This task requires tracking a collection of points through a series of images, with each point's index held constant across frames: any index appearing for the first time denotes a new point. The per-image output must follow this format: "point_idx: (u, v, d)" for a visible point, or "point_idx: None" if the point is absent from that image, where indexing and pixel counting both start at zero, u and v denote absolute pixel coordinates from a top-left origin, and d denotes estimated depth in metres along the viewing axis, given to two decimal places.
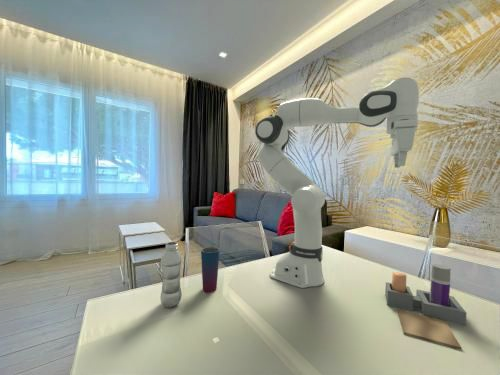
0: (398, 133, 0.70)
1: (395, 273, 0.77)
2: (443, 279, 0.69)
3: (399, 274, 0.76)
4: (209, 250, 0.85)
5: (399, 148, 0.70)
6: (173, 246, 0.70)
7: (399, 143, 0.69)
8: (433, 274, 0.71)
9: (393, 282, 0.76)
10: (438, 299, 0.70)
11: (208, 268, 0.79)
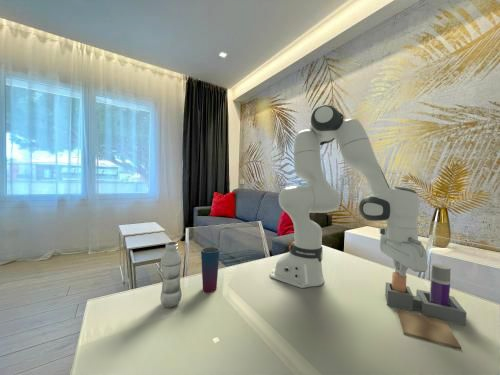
0: None
1: (395, 273, 0.77)
2: (443, 279, 0.69)
3: (398, 275, 0.76)
4: (209, 250, 0.85)
5: None
6: (173, 246, 0.70)
7: None
8: (433, 274, 0.71)
9: (393, 282, 0.76)
10: (438, 299, 0.70)
11: (208, 268, 0.79)
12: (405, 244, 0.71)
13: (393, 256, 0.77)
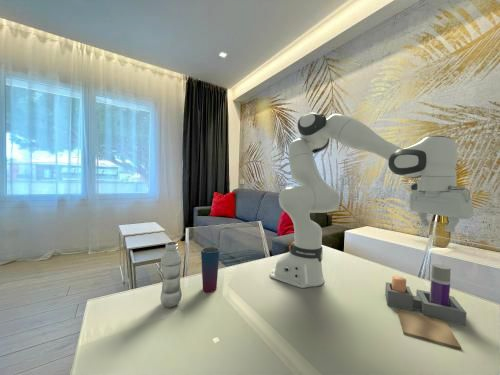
0: None
1: (395, 277, 0.77)
2: (443, 279, 0.69)
3: (398, 279, 0.76)
4: (209, 250, 0.85)
5: None
6: (173, 246, 0.70)
7: None
8: (433, 274, 0.71)
9: (393, 286, 0.76)
10: (438, 299, 0.70)
11: (208, 268, 0.79)
12: (445, 193, 0.67)
13: (428, 210, 0.73)
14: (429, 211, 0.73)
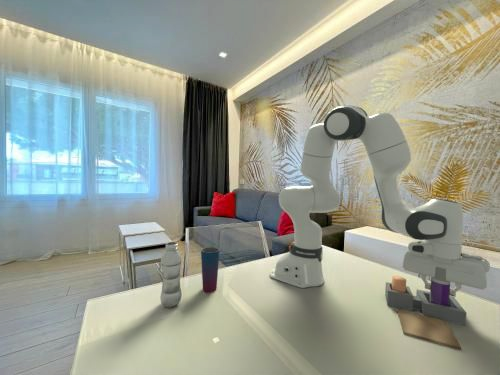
0: None
1: (395, 277, 0.77)
2: (443, 279, 0.69)
3: (398, 279, 0.76)
4: (209, 250, 0.85)
5: None
6: (173, 246, 0.70)
7: None
8: None
9: (393, 286, 0.76)
10: (438, 299, 0.70)
11: (208, 268, 0.79)
12: (462, 261, 0.66)
13: None
14: None
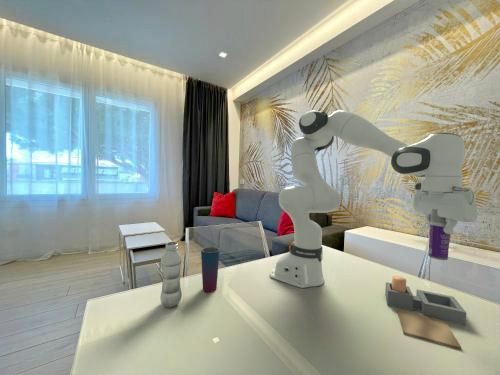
0: None
1: (395, 277, 0.77)
2: (434, 220, 0.68)
3: (398, 279, 0.76)
4: (209, 250, 0.85)
5: None
6: (173, 246, 0.70)
7: None
8: None
9: (393, 286, 0.76)
10: (430, 241, 0.69)
11: (208, 268, 0.79)
12: (449, 194, 0.63)
13: (431, 211, 0.69)
14: None
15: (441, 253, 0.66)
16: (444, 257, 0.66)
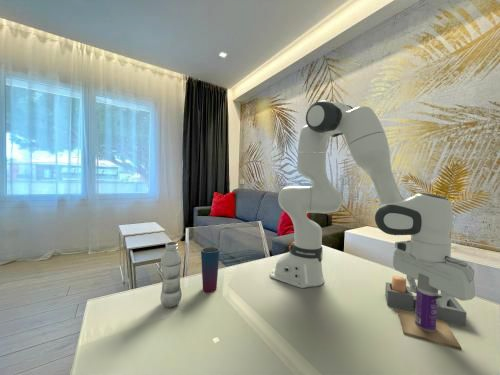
0: None
1: (395, 277, 0.77)
2: (423, 288, 0.62)
3: (398, 279, 0.76)
4: (209, 250, 0.85)
5: None
6: (173, 246, 0.70)
7: None
8: None
9: (393, 286, 0.76)
10: (418, 309, 0.63)
11: (208, 268, 0.79)
12: (442, 265, 0.58)
13: None
14: None
15: (430, 324, 0.61)
16: (433, 328, 0.61)
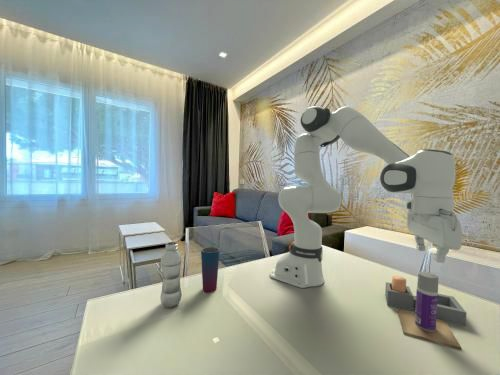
0: None
1: (395, 277, 0.77)
2: (423, 288, 0.62)
3: (398, 279, 0.76)
4: (209, 250, 0.85)
5: None
6: (173, 246, 0.70)
7: None
8: None
9: (393, 286, 0.76)
10: (418, 309, 0.63)
11: (208, 268, 0.79)
12: (434, 217, 0.58)
13: (420, 234, 0.64)
14: (421, 235, 0.64)
15: (430, 324, 0.61)
16: (433, 328, 0.61)
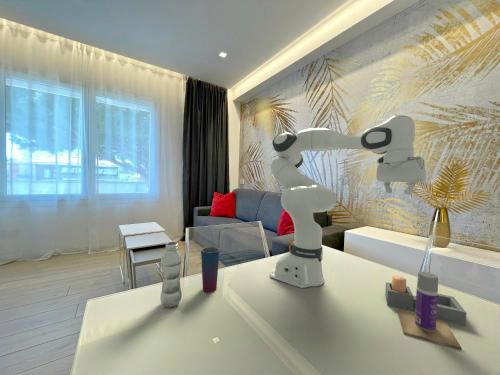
0: None
1: (395, 277, 0.77)
2: (423, 288, 0.62)
3: (398, 279, 0.76)
4: (209, 250, 0.85)
5: None
6: (173, 246, 0.70)
7: None
8: (417, 281, 0.64)
9: (393, 286, 0.76)
10: (418, 309, 0.63)
11: (208, 268, 0.79)
12: (405, 162, 0.81)
13: (392, 178, 0.87)
14: (392, 179, 0.87)
15: (430, 324, 0.61)
16: (433, 328, 0.61)
